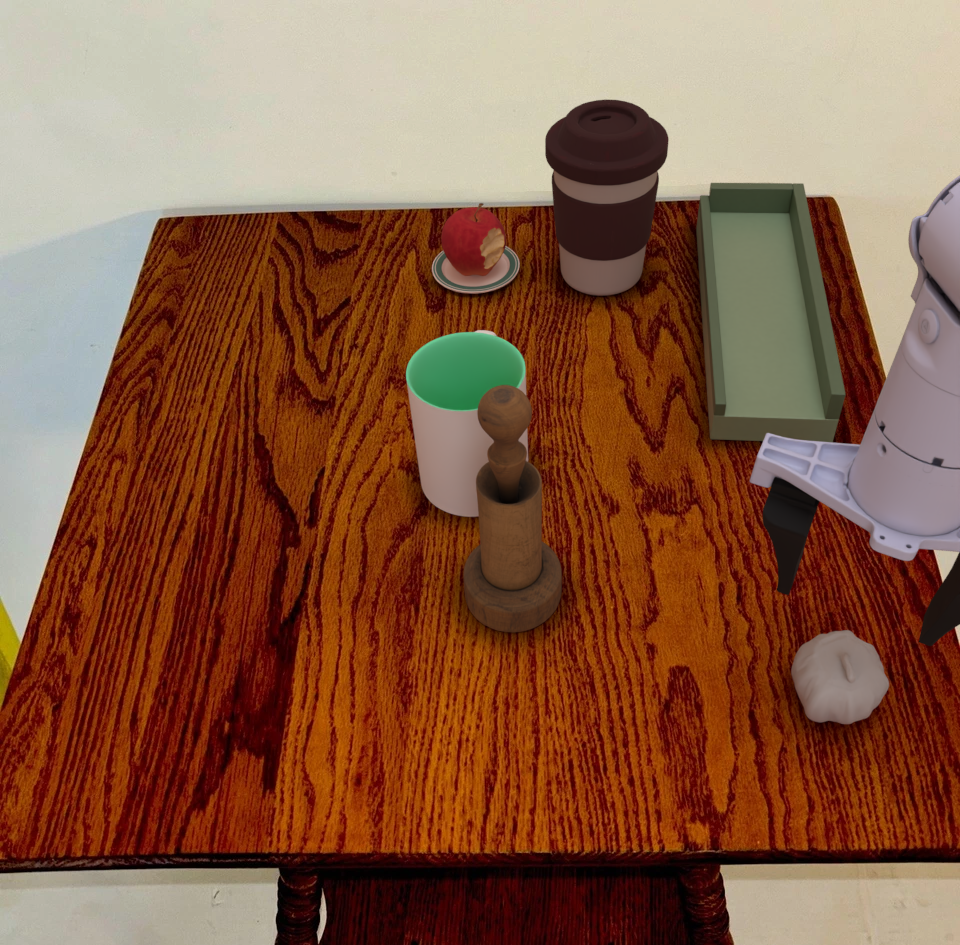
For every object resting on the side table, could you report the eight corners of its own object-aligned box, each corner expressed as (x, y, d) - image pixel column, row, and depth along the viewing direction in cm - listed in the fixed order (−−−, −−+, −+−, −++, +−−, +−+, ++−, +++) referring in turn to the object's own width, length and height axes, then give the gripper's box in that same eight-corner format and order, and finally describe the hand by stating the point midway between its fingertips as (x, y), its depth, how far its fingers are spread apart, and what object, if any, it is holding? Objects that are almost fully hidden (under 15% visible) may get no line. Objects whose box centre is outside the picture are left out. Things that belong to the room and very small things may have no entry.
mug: (436, 401, 83) (424, 296, 75) (536, 404, 82) (534, 298, 74) (412, 513, 75) (396, 408, 67) (523, 519, 74) (520, 413, 66)
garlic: (862, 757, 60) (883, 710, 56) (771, 718, 62) (785, 671, 58) (889, 677, 64) (910, 629, 60) (802, 644, 66) (817, 594, 62)
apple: (524, 247, 97) (522, 185, 92) (514, 299, 92) (511, 236, 87) (440, 243, 98) (434, 182, 93) (425, 295, 93) (418, 233, 88)
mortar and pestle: (555, 638, 67) (556, 441, 54) (457, 628, 68) (433, 432, 55) (566, 558, 71) (568, 358, 58) (473, 549, 72) (455, 351, 59)
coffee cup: (644, 315, 89) (656, 157, 78) (533, 298, 91) (530, 142, 81) (666, 250, 95) (680, 95, 84) (562, 235, 98) (562, 83, 87)
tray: (832, 444, 77) (846, 394, 74) (710, 439, 78) (717, 390, 75) (794, 230, 96) (803, 183, 93) (696, 229, 97) (701, 182, 94)
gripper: (759, 429, 46) (706, 610, 56) (1107, 539, 42) (985, 714, 52) (796, 341, 51) (742, 523, 61) (1114, 432, 47) (1001, 611, 57)
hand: (855, 605), depth 57 cm, fingers open, 7 cm apart
